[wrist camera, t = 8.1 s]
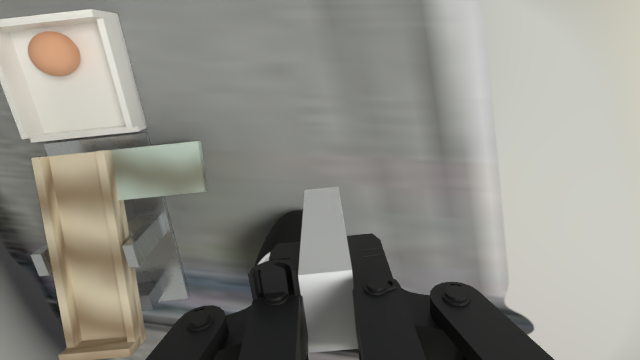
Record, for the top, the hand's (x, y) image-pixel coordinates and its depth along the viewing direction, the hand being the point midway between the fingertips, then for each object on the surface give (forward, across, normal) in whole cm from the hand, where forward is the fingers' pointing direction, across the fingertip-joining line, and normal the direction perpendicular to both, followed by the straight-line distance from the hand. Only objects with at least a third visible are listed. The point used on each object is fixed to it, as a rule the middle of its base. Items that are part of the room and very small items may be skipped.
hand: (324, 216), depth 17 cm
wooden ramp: (+20, -20, -10) cm, 30 cm away
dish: (+24, -24, +7) cm, 35 cm away
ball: (+22, -24, +9) cm, 34 cm away
